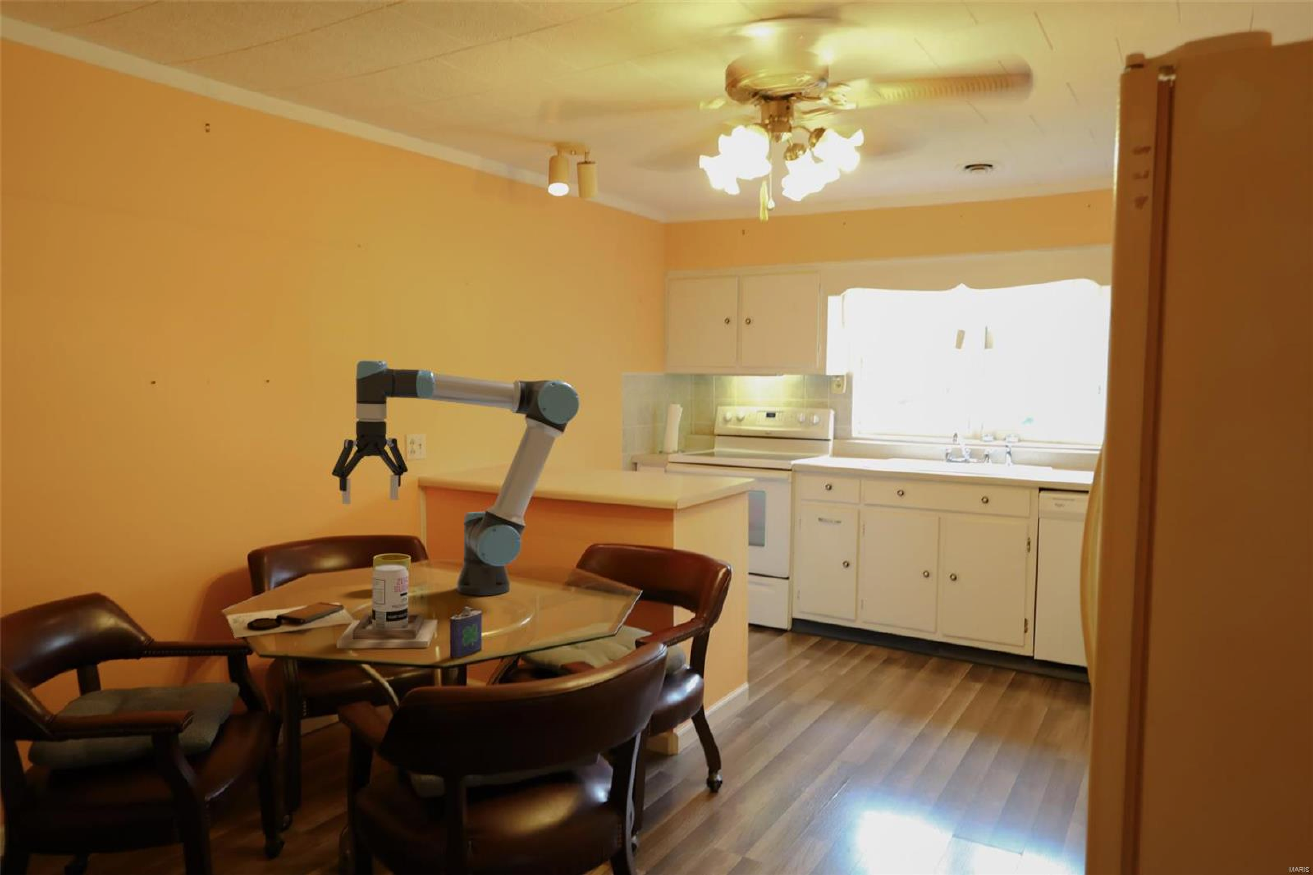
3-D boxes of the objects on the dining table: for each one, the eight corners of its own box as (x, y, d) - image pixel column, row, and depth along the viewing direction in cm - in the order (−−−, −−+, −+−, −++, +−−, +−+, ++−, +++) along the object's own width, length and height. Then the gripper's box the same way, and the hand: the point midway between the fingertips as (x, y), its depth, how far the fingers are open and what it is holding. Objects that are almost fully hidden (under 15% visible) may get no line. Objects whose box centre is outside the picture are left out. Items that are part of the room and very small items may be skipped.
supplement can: (376, 625, 210) (376, 563, 209) (411, 625, 211) (411, 564, 210) (368, 634, 202) (368, 571, 201) (404, 635, 203) (405, 571, 202)
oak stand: (437, 625, 216) (437, 611, 216) (427, 647, 199) (428, 632, 198) (353, 626, 214) (353, 612, 214) (336, 648, 196) (336, 633, 196)
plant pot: (414, 586, 256) (414, 553, 256) (405, 595, 246) (405, 560, 245) (378, 585, 256) (379, 552, 255) (368, 594, 245) (368, 559, 245)
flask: (476, 647, 200) (476, 601, 199) (485, 650, 198) (486, 603, 197) (446, 658, 192) (447, 610, 191) (456, 660, 190) (457, 612, 189)
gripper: (406, 419, 237) (405, 496, 239) (318, 420, 219) (317, 503, 220) (421, 420, 232) (420, 499, 234) (332, 421, 214) (332, 507, 215)
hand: (370, 501), depth 227 cm, fingers open, 13 cm apart
